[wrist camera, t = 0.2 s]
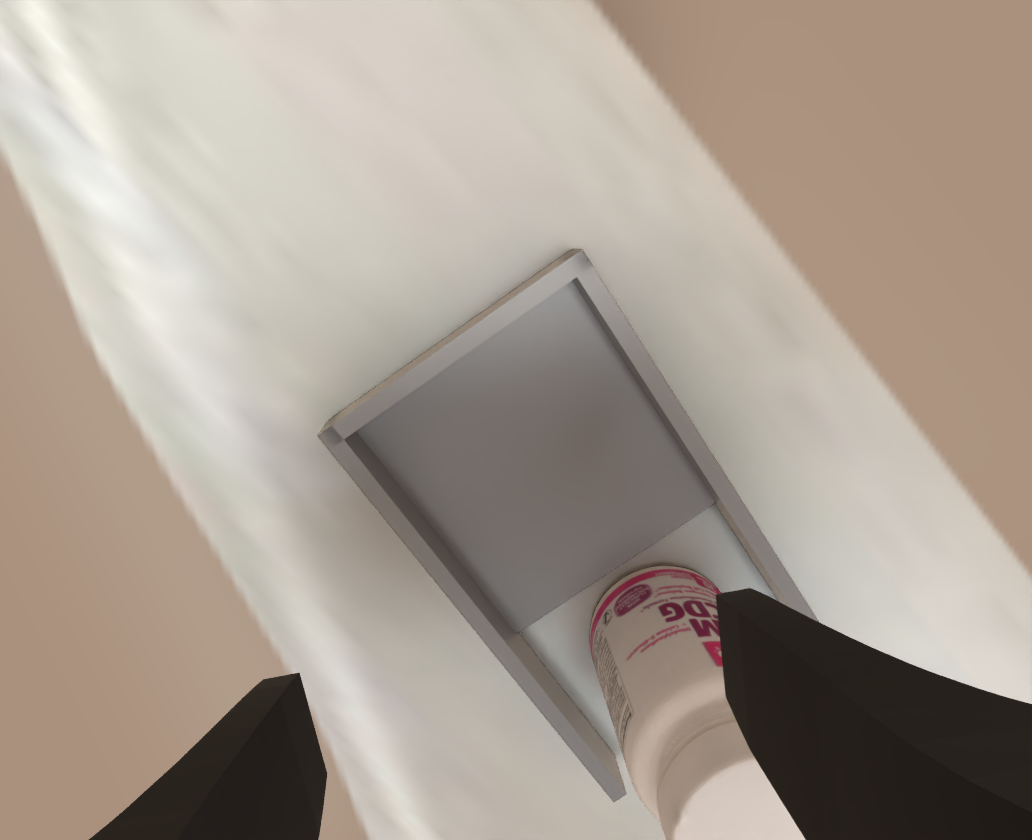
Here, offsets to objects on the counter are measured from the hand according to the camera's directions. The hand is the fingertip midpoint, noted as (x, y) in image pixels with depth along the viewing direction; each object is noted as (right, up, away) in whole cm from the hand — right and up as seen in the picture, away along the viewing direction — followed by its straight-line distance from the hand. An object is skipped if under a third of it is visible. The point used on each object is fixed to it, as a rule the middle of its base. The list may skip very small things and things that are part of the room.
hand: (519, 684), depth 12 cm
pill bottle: (+5, -2, +11) cm, 13 cm away
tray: (+2, +1, +10) cm, 10 cm away
